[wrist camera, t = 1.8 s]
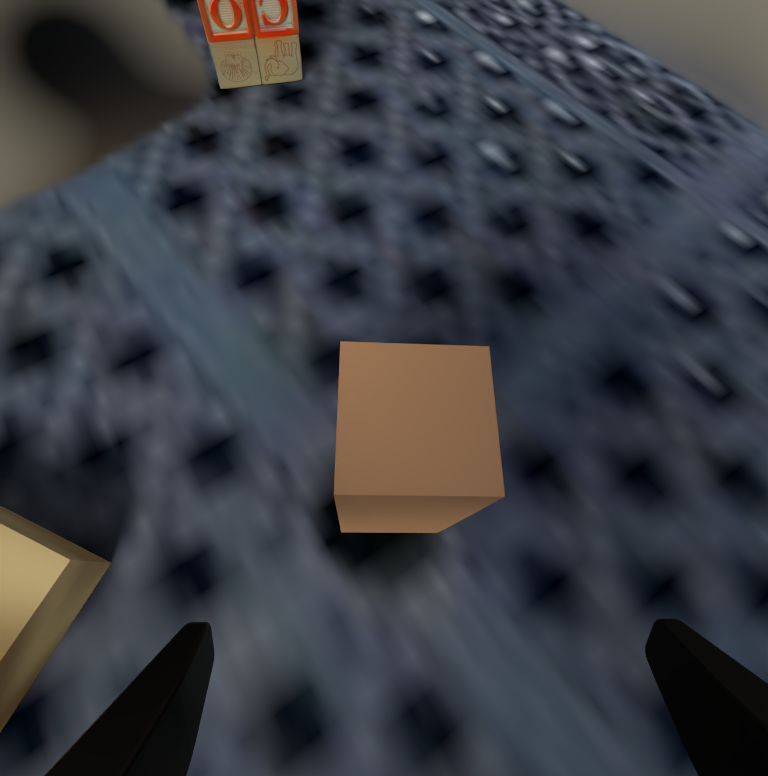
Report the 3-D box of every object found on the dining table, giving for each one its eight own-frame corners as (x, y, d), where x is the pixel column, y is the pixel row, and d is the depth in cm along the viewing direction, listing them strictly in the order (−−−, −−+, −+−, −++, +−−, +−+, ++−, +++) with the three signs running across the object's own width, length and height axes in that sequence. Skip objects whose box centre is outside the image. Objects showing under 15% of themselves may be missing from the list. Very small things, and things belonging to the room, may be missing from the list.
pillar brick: (437, 532, 21) (505, 496, 12) (341, 532, 21) (333, 494, 11) (433, 440, 23) (489, 346, 14) (344, 438, 22) (340, 341, 13)
